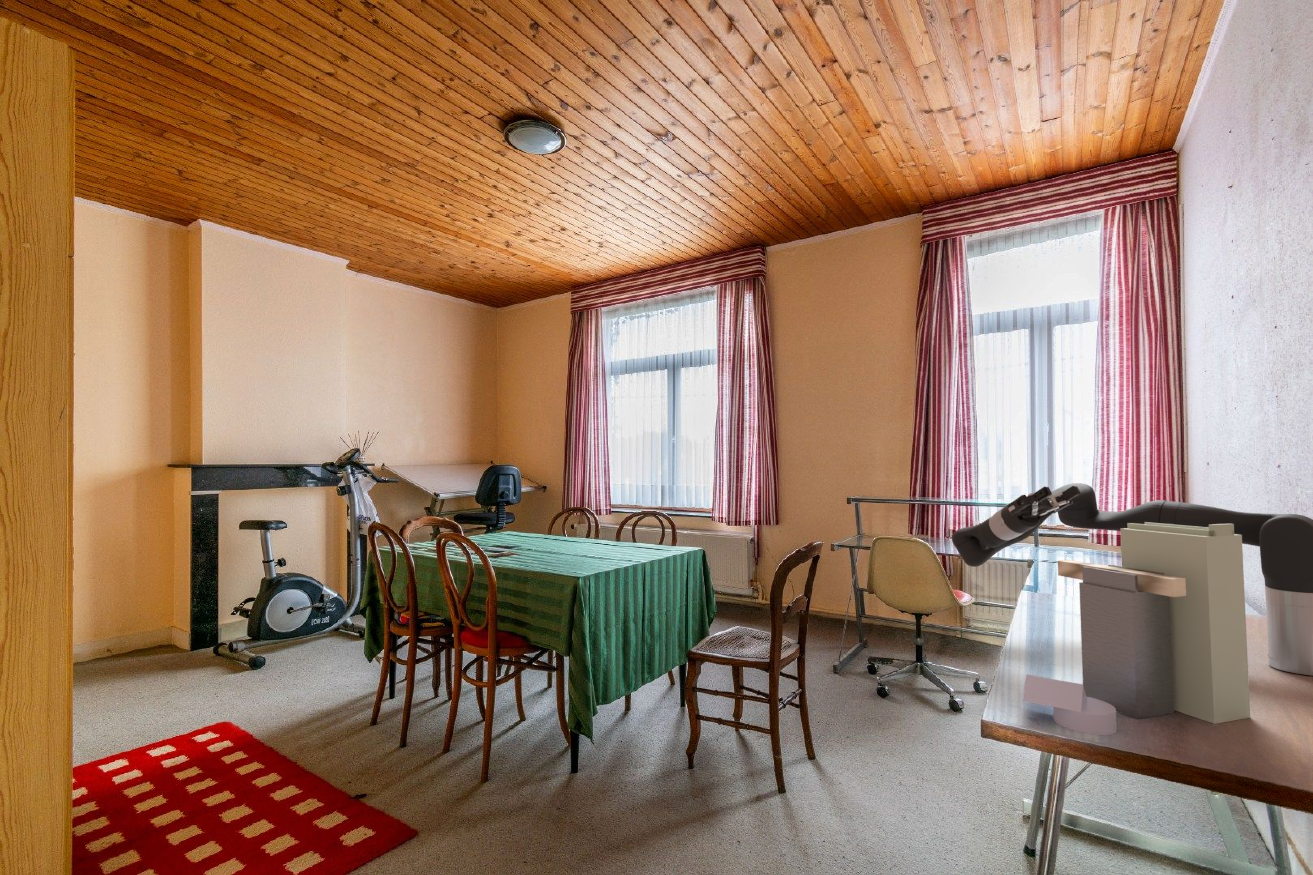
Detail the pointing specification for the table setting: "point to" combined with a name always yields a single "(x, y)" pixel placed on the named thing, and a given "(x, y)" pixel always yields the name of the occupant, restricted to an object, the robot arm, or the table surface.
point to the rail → (1145, 580)
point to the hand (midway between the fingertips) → (1063, 489)
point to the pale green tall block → (1200, 613)
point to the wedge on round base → (1071, 705)
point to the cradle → (1125, 643)
